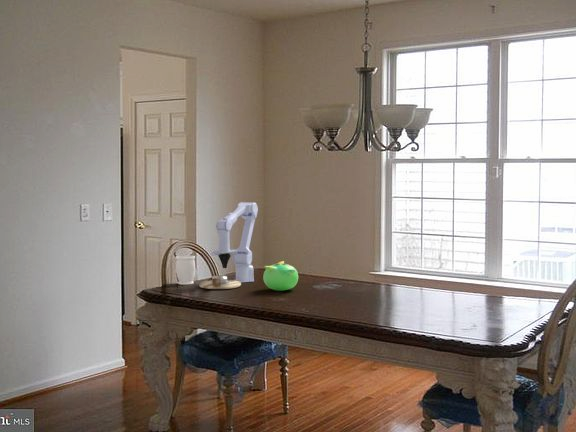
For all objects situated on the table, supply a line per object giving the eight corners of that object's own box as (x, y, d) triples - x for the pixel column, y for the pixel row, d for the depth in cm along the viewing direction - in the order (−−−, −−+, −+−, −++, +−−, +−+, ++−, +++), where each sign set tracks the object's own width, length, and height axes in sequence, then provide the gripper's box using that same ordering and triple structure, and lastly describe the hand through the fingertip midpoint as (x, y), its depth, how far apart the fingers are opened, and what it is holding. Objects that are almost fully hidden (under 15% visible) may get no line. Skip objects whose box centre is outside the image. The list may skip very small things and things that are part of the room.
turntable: (249, 284, 383) (249, 274, 383) (221, 290, 366) (221, 280, 365) (218, 280, 396) (218, 271, 396) (190, 286, 379) (190, 276, 378)
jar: (172, 284, 388) (172, 257, 387) (181, 281, 398) (180, 254, 397) (190, 285, 385) (190, 257, 384) (198, 282, 395) (198, 255, 394)
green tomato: (299, 287, 375) (299, 260, 374) (296, 293, 359) (296, 264, 358) (265, 287, 377) (265, 259, 376) (261, 293, 361) (260, 264, 359)
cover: (230, 283, 381) (230, 276, 381) (220, 285, 375) (220, 278, 375) (219, 281, 386) (219, 274, 386) (209, 283, 380) (209, 276, 380)
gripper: (233, 240, 388) (233, 265, 389) (208, 242, 380) (208, 268, 381) (239, 242, 382) (239, 267, 383) (214, 243, 374) (214, 269, 375)
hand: (224, 267), depth 382 cm, fingers closed
